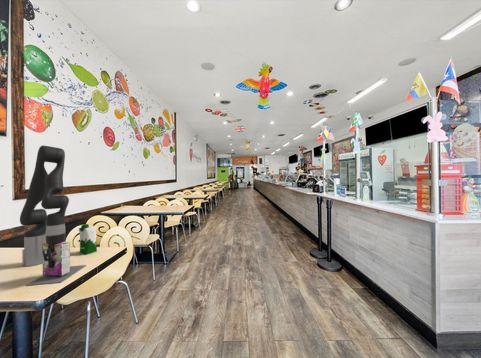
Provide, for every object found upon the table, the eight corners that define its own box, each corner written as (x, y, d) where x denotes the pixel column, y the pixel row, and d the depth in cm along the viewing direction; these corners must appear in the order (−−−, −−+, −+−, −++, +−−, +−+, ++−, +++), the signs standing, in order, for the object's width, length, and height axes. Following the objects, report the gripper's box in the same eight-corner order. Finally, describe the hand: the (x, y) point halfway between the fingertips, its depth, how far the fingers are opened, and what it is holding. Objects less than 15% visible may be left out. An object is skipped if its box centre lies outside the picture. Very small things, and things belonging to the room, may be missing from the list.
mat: (25, 285, 94) (25, 285, 94) (57, 268, 114) (57, 267, 114) (61, 282, 96) (61, 281, 96) (86, 265, 116) (86, 264, 116)
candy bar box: (41, 275, 101) (41, 243, 102) (51, 271, 106) (51, 241, 107) (61, 276, 100) (61, 244, 100) (70, 272, 105) (70, 241, 105)
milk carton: (77, 254, 136) (76, 225, 136) (90, 249, 145) (90, 222, 145) (86, 255, 133) (85, 225, 133) (99, 250, 142) (99, 223, 142)
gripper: (58, 230, 110) (58, 260, 110) (35, 237, 96) (36, 272, 96) (73, 229, 111) (73, 259, 111) (53, 236, 97) (53, 270, 97)
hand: (56, 265), depth 103 cm, fingers closed on candy bar box, 5 cm apart
